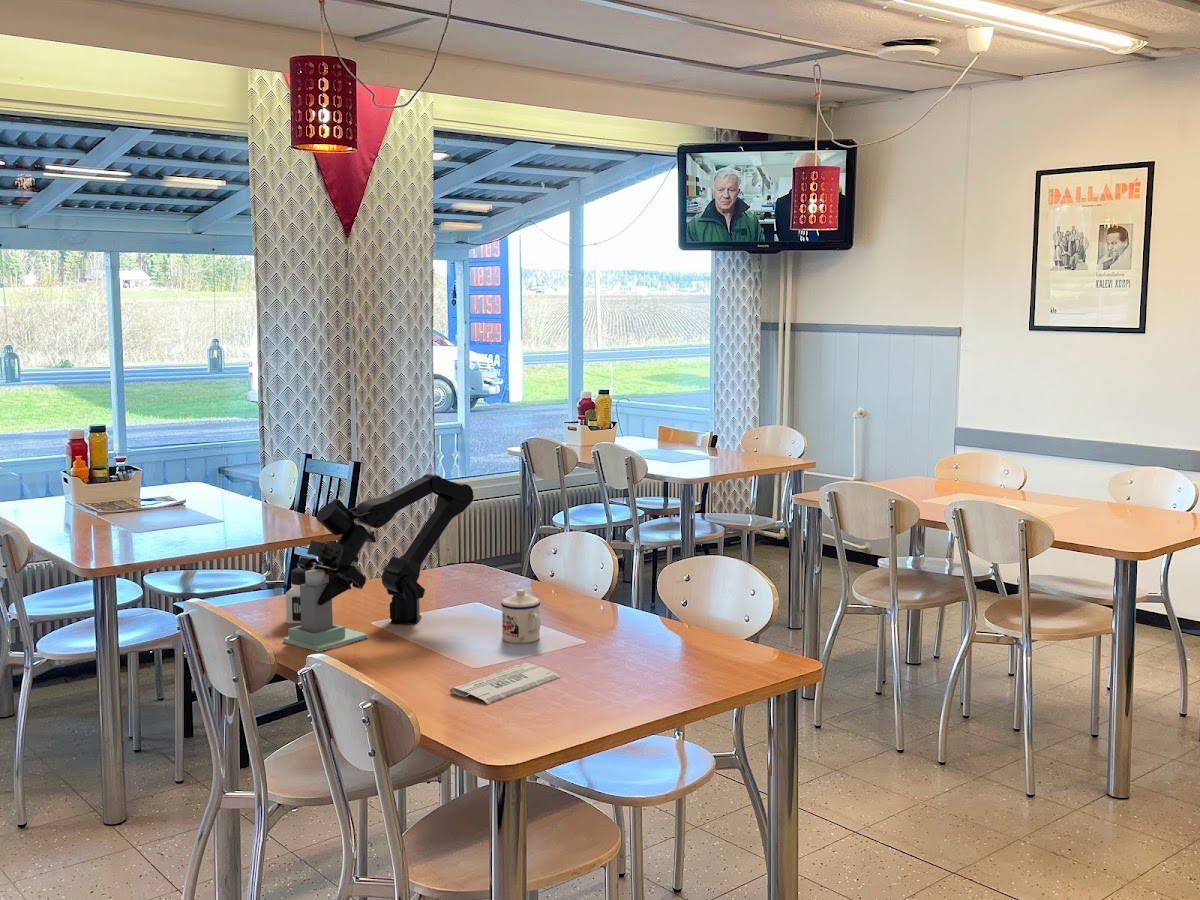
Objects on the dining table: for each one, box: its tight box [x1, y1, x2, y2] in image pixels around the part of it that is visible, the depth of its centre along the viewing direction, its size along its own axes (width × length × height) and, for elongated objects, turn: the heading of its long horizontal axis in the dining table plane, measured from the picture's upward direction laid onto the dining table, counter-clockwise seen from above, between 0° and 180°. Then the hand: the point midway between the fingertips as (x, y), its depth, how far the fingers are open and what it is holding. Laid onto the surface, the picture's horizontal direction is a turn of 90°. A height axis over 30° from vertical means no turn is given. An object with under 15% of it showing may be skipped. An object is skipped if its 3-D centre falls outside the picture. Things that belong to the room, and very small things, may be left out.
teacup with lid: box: [500, 588, 542, 644], centre depth 269 cm, size 12×9×12 cm
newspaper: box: [449, 662, 561, 705], centre depth 238 cm, size 23×12×2 cm, turn 141°
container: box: [285, 566, 306, 624], centre depth 286 cm, size 8×8×13 cm
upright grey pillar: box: [300, 569, 334, 634], centre depth 266 cm, size 5×5×14 cm
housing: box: [282, 623, 369, 653], centre depth 269 cm, size 14×13×4 cm
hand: (311, 602), depth 265 cm, fingers closed on upright grey pillar, 5 cm apart
